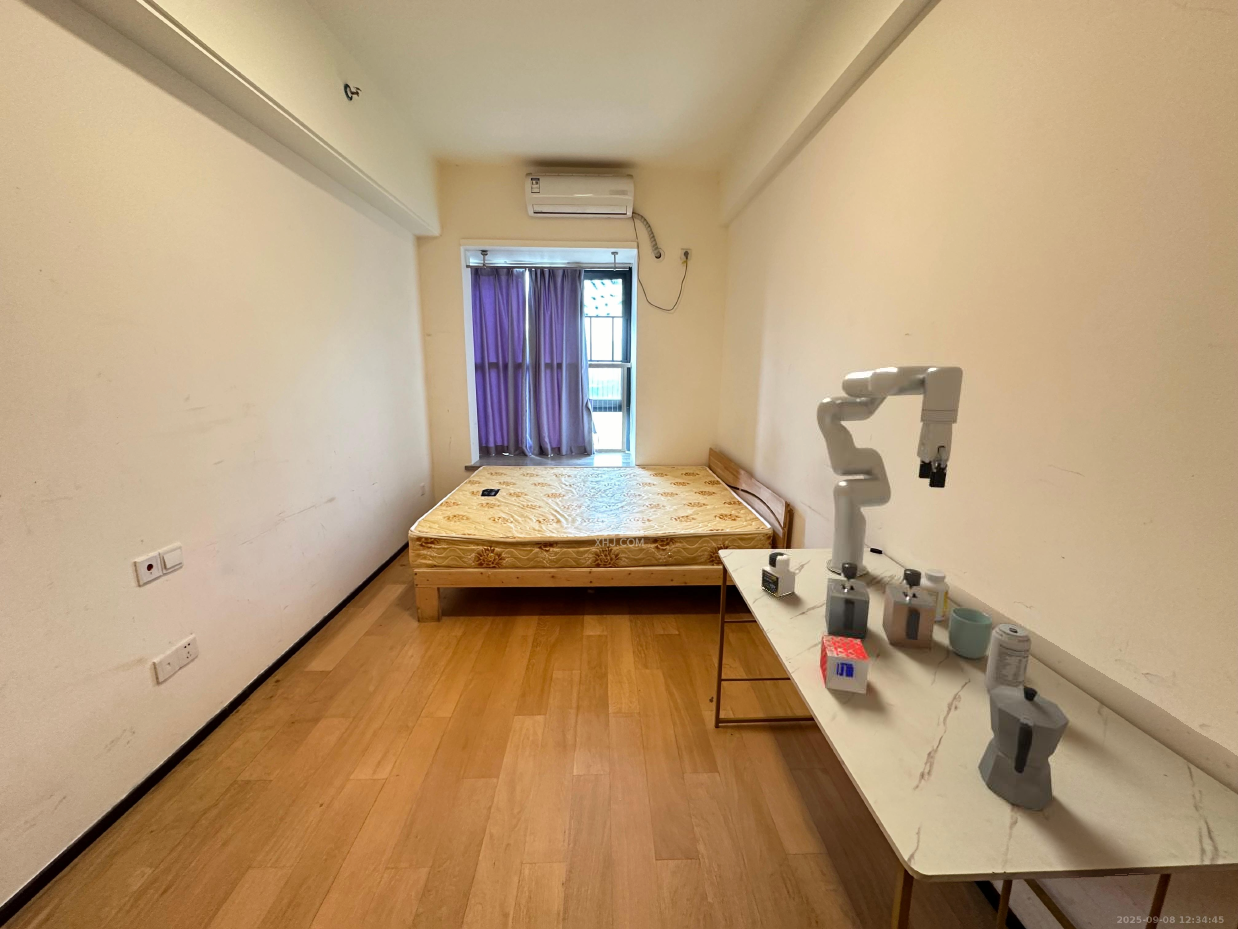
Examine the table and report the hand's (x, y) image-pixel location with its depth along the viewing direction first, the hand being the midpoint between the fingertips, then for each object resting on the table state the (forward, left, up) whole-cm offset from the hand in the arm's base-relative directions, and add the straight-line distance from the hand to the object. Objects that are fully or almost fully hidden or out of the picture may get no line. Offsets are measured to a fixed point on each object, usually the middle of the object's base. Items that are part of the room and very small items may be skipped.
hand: (930, 482), depth 116 cm
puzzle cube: (+34, -22, -39) cm, 56 cm away
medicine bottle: (-5, -36, -38) cm, 53 cm away
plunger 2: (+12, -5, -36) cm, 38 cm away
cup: (+15, +7, -38) cm, 42 cm away
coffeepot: (+55, +1, -38) cm, 67 cm away
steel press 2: (+12, -5, -38) cm, 40 cm away
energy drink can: (+29, +9, -38) cm, 49 cm away
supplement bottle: (-2, +4, -38) cm, 39 cm away
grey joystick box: (+12, -19, -38) cm, 44 cm away
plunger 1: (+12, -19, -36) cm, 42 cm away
